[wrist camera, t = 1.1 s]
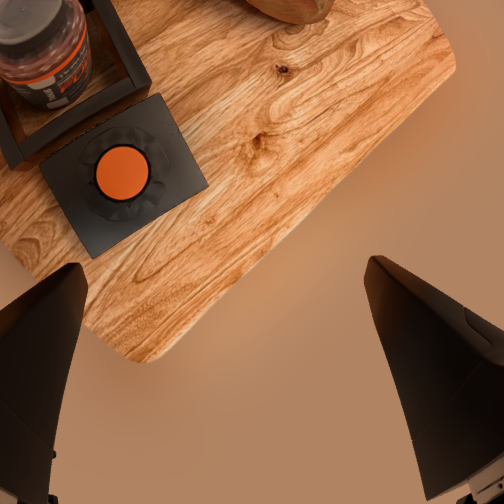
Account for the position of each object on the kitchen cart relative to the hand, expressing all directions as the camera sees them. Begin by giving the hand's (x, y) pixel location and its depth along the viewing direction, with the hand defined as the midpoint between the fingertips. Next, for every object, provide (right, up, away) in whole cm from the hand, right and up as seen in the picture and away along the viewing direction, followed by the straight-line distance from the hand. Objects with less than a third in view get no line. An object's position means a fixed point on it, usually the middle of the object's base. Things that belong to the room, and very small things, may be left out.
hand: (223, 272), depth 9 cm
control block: (-9, +6, +13) cm, 17 cm away
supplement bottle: (-14, +14, +9) cm, 22 cm away
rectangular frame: (-14, +14, +9) cm, 22 cm away
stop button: (-8, +6, +10) cm, 13 cm away
